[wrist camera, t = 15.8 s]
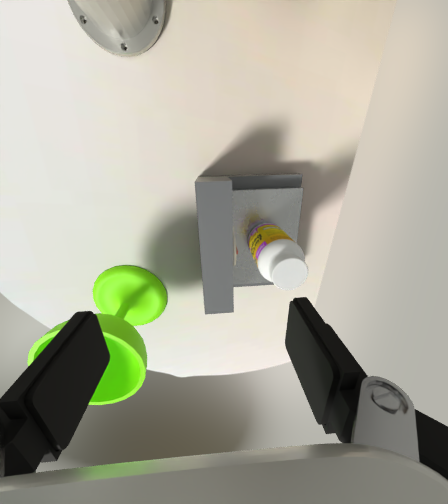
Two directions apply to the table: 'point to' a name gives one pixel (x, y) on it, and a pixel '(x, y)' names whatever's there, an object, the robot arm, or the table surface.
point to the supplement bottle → (278, 256)
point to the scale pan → (258, 212)
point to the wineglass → (120, 328)
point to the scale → (225, 232)
